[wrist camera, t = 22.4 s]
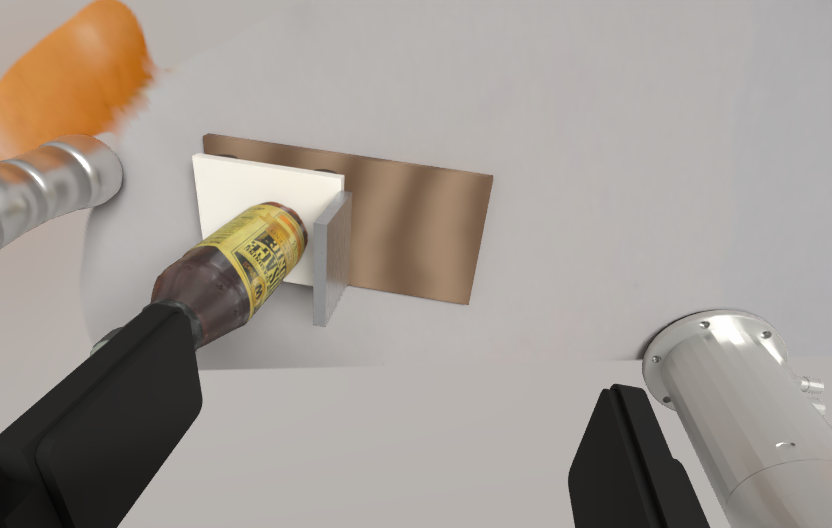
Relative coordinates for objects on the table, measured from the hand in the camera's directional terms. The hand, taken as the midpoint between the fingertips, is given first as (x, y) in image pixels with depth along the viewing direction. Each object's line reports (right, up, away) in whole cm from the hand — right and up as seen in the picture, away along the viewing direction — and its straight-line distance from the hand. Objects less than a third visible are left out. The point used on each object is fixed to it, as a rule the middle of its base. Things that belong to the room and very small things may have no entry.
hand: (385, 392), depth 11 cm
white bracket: (-12, +8, +34) cm, 37 cm away
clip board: (-6, +7, +34) cm, 35 cm away
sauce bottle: (-12, +6, +31) cm, 34 cm away
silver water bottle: (-30, +13, +35) cm, 48 cm away
